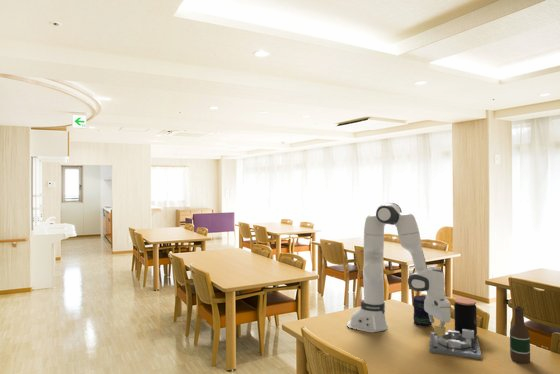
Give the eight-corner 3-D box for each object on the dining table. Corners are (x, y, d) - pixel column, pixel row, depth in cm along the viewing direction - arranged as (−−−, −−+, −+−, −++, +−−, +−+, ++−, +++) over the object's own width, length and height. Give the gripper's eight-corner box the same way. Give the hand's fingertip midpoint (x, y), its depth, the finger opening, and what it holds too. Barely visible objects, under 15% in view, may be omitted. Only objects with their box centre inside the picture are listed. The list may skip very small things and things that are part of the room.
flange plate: (429, 352, 185) (429, 340, 185) (431, 335, 205) (430, 324, 205) (481, 359, 176) (481, 346, 176) (477, 341, 197) (477, 329, 197)
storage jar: (432, 327, 216) (431, 301, 216) (413, 326, 220) (413, 299, 220) (431, 321, 226) (430, 296, 226) (413, 320, 229) (412, 295, 229)
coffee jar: (479, 338, 200) (478, 303, 200) (457, 337, 202) (456, 303, 202) (473, 331, 210) (472, 298, 210) (452, 330, 212) (451, 297, 212)
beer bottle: (506, 356, 178) (505, 304, 178) (522, 355, 179) (521, 304, 179) (518, 364, 170) (516, 310, 170) (534, 363, 171) (533, 309, 171)
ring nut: (434, 345, 187) (434, 331, 187) (435, 334, 201) (435, 321, 201) (475, 350, 180) (474, 336, 180) (473, 338, 194) (472, 325, 194)
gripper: (420, 293, 212) (421, 319, 212) (440, 305, 192) (441, 332, 192) (431, 293, 213) (432, 318, 213) (452, 304, 193) (453, 332, 193)
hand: (436, 325), depth 202 cm, fingers open, 8 cm apart
